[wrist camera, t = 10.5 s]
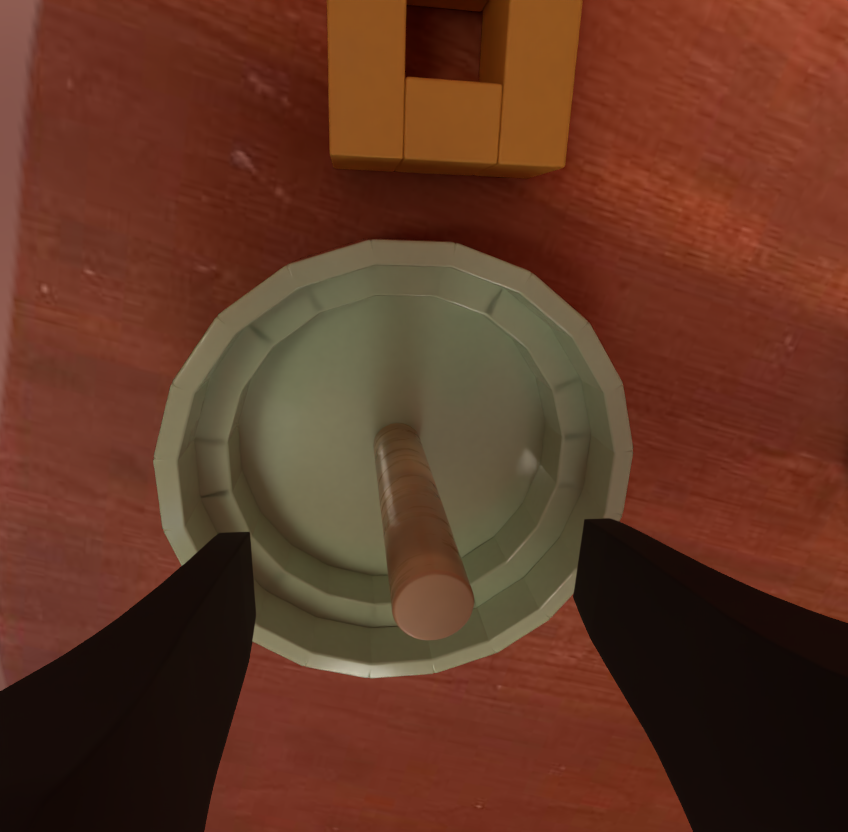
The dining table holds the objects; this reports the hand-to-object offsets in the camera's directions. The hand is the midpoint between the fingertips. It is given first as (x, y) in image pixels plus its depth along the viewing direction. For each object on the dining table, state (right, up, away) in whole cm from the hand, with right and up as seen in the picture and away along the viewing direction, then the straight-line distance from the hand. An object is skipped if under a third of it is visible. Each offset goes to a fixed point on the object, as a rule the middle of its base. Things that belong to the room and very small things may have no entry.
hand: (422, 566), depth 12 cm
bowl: (-1, +2, +7) cm, 8 cm away
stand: (0, +13, +4) cm, 14 cm away
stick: (-1, +2, +7) cm, 7 cm away
